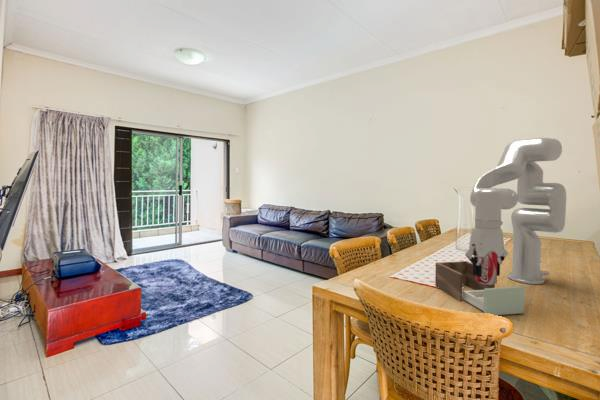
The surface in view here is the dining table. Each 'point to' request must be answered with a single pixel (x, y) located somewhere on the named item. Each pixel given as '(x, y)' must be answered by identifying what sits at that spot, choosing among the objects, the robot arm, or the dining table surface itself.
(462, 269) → the box
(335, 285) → the dining table surface
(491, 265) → the beverage can
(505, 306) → the pale green drawer
